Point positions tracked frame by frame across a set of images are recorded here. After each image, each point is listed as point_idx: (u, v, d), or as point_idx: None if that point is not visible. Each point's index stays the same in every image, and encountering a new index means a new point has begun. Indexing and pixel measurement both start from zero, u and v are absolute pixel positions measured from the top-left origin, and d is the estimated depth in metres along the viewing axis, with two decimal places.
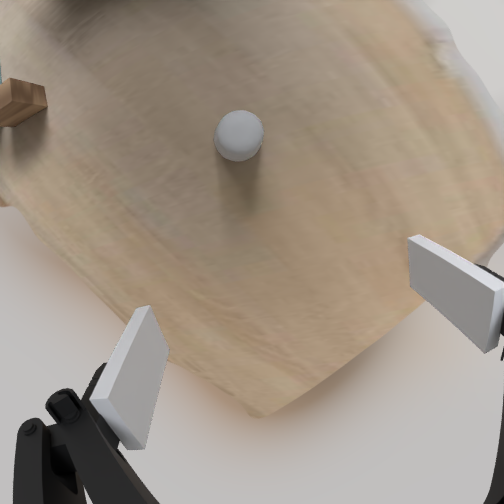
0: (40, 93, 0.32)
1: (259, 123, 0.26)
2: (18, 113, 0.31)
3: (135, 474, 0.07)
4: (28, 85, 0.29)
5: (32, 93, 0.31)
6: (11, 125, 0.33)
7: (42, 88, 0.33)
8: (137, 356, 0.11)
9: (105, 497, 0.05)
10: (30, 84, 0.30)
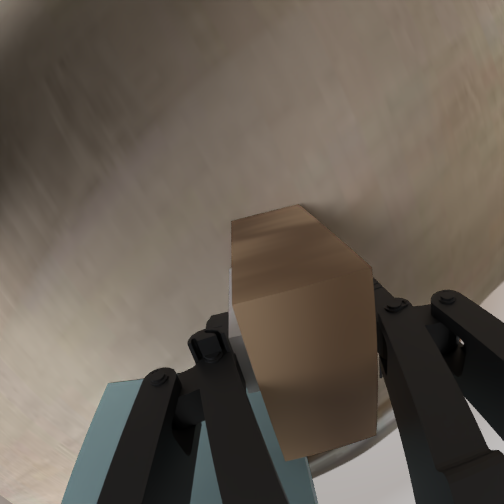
0: (263, 220, 0.14)
1: None
2: None
3: (258, 425, 0.09)
4: (247, 244, 0.12)
5: (274, 230, 0.12)
6: None
7: (240, 221, 0.15)
8: None
9: (226, 444, 0.06)
10: (238, 241, 0.12)
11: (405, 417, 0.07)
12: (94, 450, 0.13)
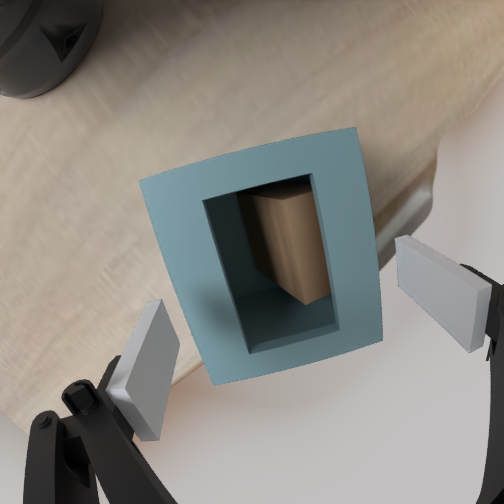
0: (258, 188, 0.25)
1: None
2: None
3: (149, 466, 0.08)
4: (263, 193, 0.22)
5: (272, 189, 0.23)
6: None
7: (243, 192, 0.26)
8: (151, 348, 0.12)
9: (118, 489, 0.05)
10: (255, 194, 0.23)
11: (500, 395, 0.06)
12: None
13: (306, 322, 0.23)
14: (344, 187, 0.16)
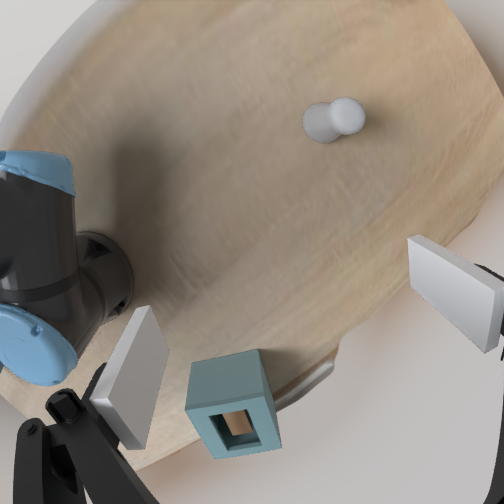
0: None
1: (342, 99, 0.29)
2: None
3: (135, 474, 0.07)
4: None
5: None
6: None
7: None
8: (137, 356, 0.11)
9: (105, 497, 0.05)
10: None
11: None
12: (194, 384, 0.47)
13: (253, 434, 0.49)
14: (259, 411, 0.42)
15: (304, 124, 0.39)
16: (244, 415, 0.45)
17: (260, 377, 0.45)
